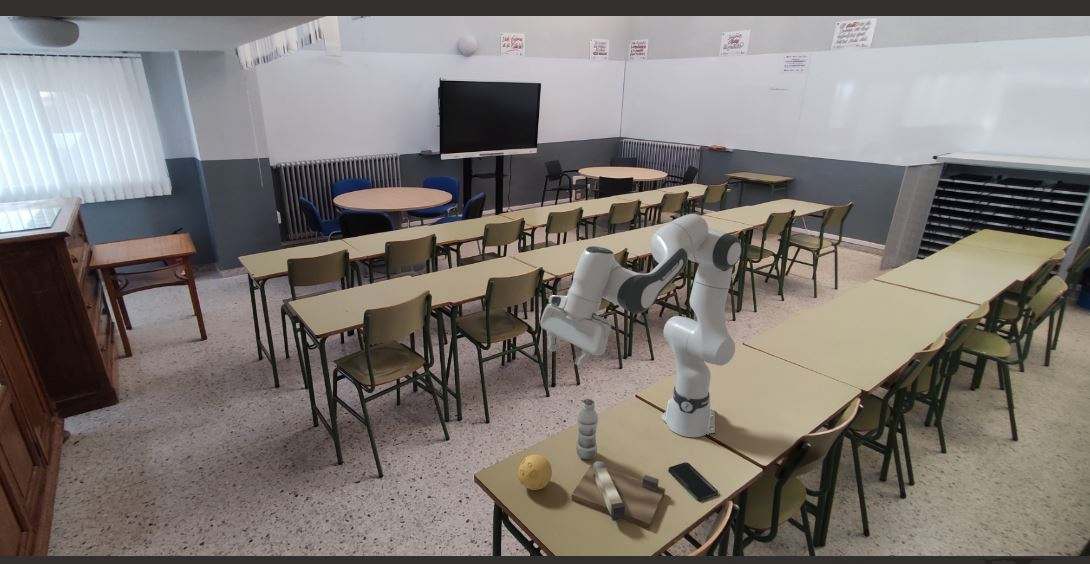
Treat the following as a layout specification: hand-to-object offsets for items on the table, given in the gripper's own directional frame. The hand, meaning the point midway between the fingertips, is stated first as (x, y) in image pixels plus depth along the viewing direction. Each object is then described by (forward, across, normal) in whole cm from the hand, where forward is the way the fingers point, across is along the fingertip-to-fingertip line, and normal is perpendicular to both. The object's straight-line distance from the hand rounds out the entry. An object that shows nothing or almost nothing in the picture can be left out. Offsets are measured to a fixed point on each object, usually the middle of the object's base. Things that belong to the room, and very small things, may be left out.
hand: (564, 357), depth 136 cm
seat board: (+37, -15, -27) cm, 48 cm away
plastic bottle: (+36, +4, -34) cm, 50 cm away
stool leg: (+37, -13, -23) cm, 45 cm away
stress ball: (+44, +6, -14) cm, 46 cm away
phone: (+30, -26, -46) cm, 61 cm away
